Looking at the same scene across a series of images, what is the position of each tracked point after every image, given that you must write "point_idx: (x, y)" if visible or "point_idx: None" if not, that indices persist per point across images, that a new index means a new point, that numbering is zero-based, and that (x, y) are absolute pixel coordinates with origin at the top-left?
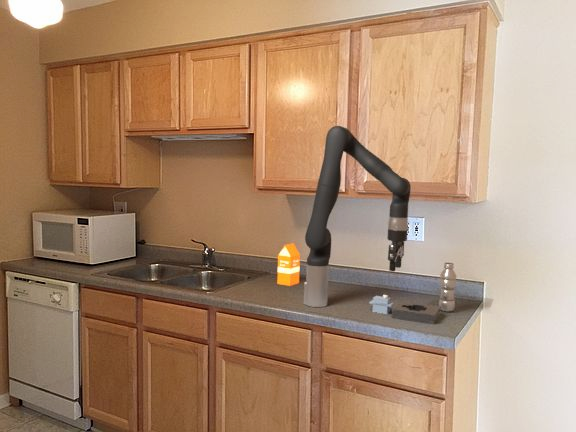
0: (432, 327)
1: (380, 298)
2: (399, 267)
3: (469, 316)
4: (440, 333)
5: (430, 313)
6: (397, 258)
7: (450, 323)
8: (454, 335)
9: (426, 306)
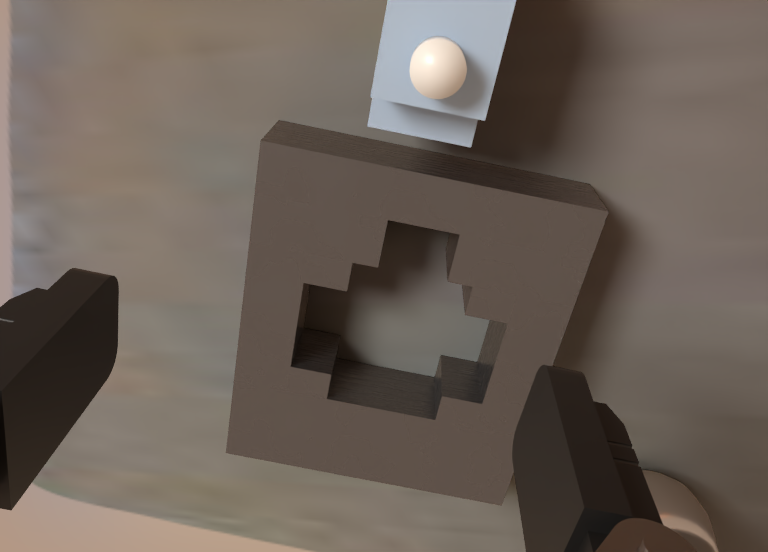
0: (171, 400)
1: (398, 5)
2: (516, 431)
3: None
4: (69, 435)
5: (264, 433)
6: (569, 541)
7: (317, 497)
8: (76, 497)
9: (473, 414)
